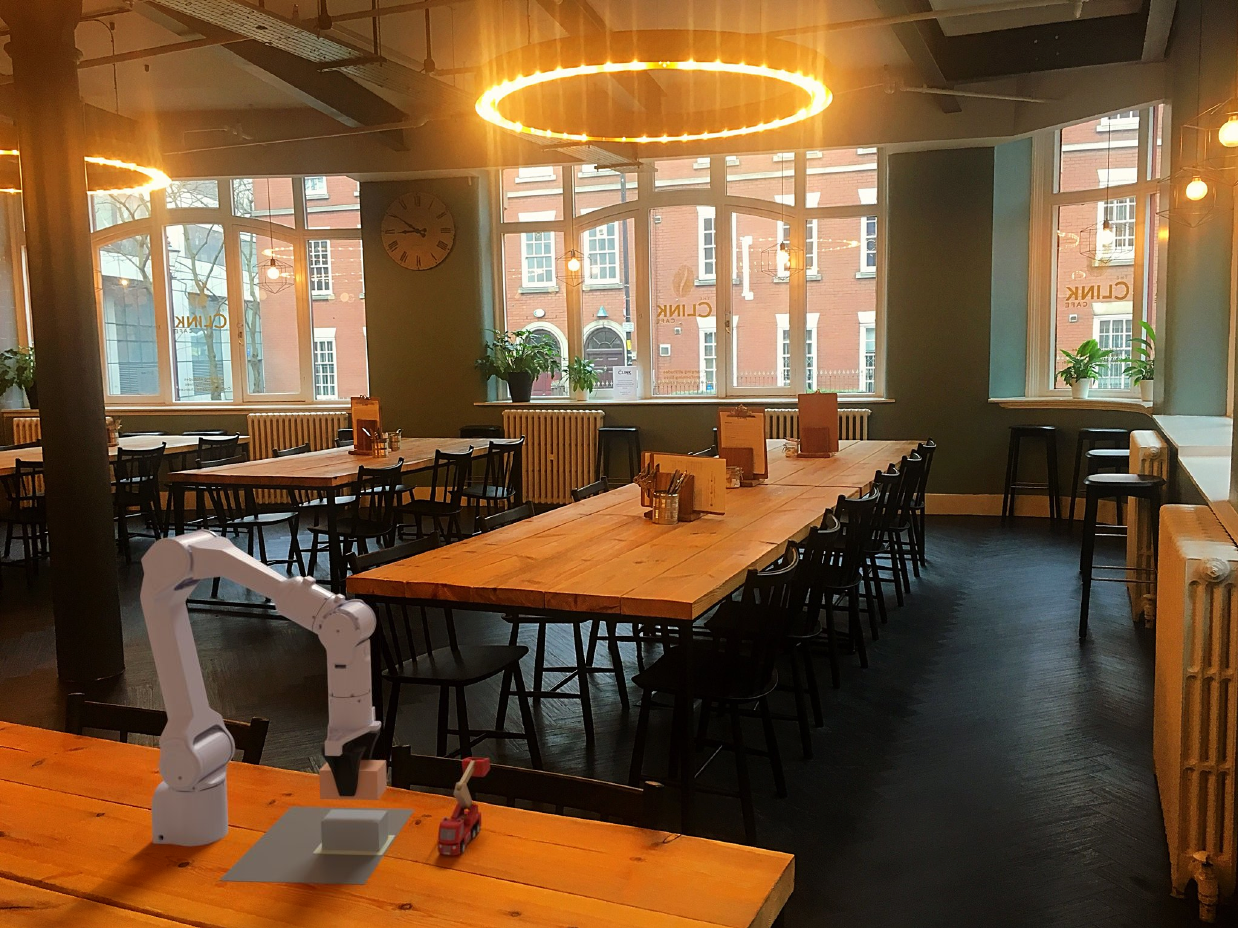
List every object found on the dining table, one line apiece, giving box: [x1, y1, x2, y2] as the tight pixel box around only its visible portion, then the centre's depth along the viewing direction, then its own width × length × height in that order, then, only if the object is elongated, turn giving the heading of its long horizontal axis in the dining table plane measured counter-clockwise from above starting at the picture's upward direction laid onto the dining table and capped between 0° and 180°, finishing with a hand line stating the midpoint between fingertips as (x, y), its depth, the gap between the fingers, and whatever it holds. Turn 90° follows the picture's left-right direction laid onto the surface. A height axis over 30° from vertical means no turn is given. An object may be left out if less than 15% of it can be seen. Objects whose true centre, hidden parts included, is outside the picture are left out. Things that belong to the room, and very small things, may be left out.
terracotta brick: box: [318, 759, 388, 801], centre depth 138 cm, size 8×4×4 cm, turn 86°
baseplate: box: [219, 806, 415, 886], centre depth 139 cm, size 19×23×1 cm
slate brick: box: [321, 809, 388, 851], centre depth 138 cm, size 8×4×4 cm, turn 85°
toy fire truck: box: [437, 756, 491, 856], centre depth 143 cm, size 3×14×10 cm, turn 168°
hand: (353, 788), depth 138 cm, fingers closed on terracotta brick, 4 cm apart
